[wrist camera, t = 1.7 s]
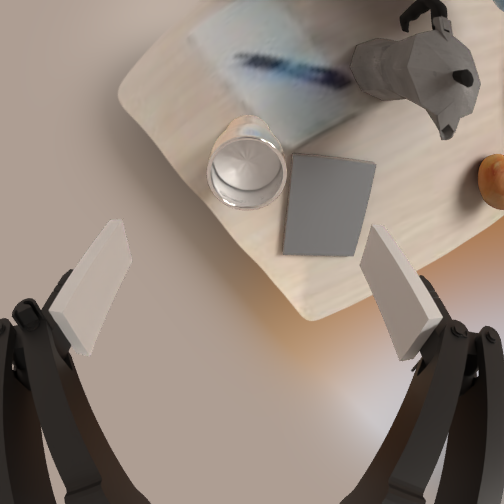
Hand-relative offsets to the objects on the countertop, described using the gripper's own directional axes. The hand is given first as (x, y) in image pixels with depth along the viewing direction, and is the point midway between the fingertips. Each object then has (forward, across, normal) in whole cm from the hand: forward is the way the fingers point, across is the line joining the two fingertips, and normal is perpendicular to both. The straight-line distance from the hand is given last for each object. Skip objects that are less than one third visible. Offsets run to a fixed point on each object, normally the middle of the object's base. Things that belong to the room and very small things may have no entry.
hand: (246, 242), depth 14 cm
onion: (+25, +43, +1) cm, 50 cm away
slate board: (+24, +12, -10) cm, 29 cm away
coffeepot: (+25, +17, +13) cm, 33 cm away
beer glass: (+25, 0, 0) cm, 25 cm away
